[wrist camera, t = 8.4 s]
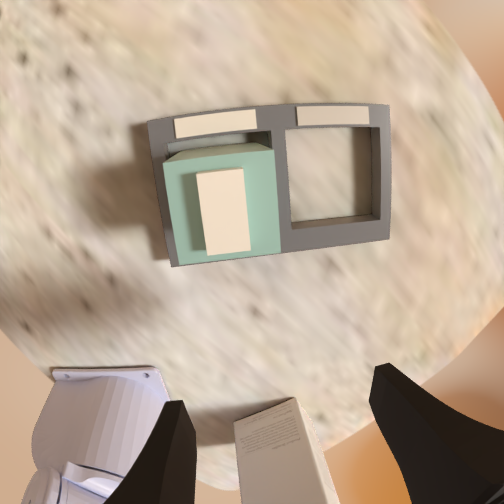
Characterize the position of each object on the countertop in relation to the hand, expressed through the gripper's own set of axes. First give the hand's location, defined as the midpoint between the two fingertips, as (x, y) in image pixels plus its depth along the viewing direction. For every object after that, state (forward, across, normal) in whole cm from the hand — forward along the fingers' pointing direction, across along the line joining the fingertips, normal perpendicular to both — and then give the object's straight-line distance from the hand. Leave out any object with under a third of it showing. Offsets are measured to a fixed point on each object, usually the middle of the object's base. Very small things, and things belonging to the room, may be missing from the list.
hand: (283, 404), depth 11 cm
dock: (+10, -2, -6) cm, 12 cm away
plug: (+10, +1, -6) cm, 12 cm away
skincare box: (+10, 0, +14) cm, 17 cm away
